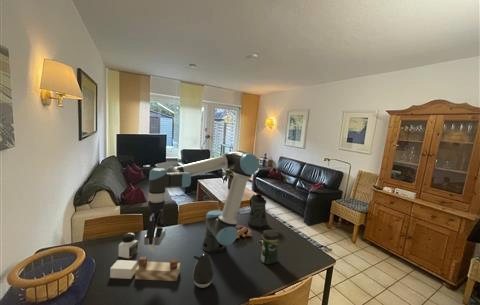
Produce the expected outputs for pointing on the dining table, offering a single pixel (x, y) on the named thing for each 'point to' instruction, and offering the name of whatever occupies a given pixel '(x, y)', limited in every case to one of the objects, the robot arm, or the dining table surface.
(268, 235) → the coffee jar
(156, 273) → the cream wooden plank
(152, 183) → the robot arm
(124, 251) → the medicine bottle
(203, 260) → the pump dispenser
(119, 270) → the block
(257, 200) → the beer stein
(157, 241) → the lever cap
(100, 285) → the dining table surface
